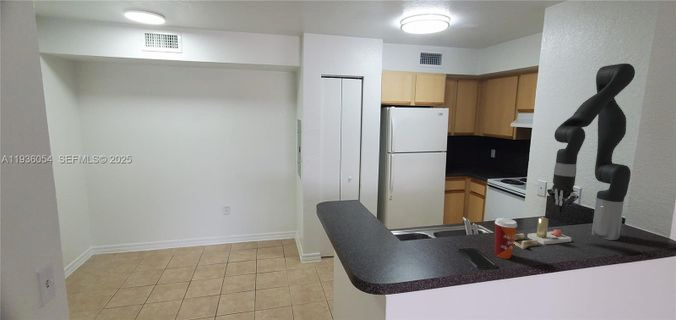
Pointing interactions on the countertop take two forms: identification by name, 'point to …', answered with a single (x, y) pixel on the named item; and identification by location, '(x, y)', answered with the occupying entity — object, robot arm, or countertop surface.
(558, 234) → the button
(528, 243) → the beige channel block
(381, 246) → the countertop surface
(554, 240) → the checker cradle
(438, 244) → the countertop surface
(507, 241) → the paper cup
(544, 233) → the cell
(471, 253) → the phone
